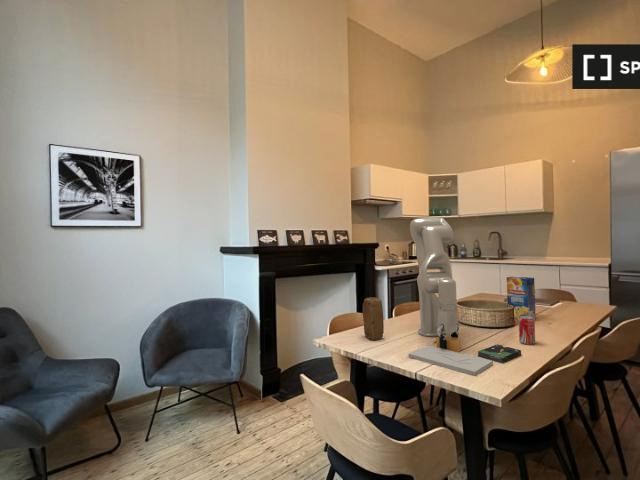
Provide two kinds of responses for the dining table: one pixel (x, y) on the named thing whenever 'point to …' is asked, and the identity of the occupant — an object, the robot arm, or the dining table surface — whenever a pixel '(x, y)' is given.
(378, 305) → the block
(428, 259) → the robot arm
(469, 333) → the dining table surface
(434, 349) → the board
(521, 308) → the juice carton
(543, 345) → the dining table surface
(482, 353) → the disk drive
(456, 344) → the block
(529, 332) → the soda can
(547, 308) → the dining table surface
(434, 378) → the dining table surface
